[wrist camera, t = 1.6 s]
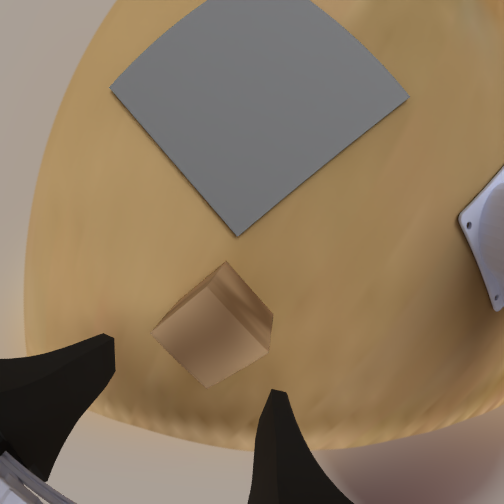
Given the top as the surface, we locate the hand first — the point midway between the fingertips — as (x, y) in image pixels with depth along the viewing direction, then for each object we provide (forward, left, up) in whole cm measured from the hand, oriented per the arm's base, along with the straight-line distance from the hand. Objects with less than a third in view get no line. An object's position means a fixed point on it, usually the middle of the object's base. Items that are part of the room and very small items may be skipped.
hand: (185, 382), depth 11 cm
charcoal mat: (+10, -11, -8) cm, 17 cm away
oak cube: (0, 0, -8) cm, 8 cm away
